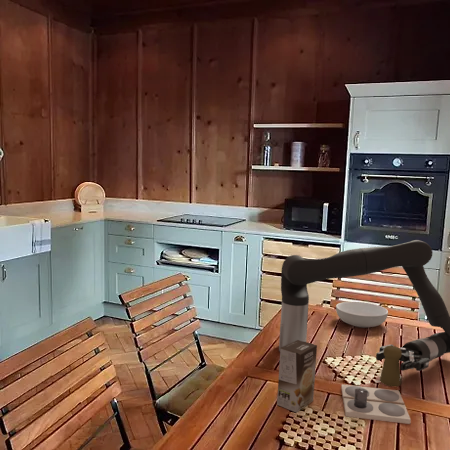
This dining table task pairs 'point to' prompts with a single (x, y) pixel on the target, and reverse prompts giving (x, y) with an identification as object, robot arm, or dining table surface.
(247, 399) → the dining table surface
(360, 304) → the serving bowl
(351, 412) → the board
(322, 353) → the dining table surface
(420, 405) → the dining table surface
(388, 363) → the pepper mill
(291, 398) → the coffee box
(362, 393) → the pin
